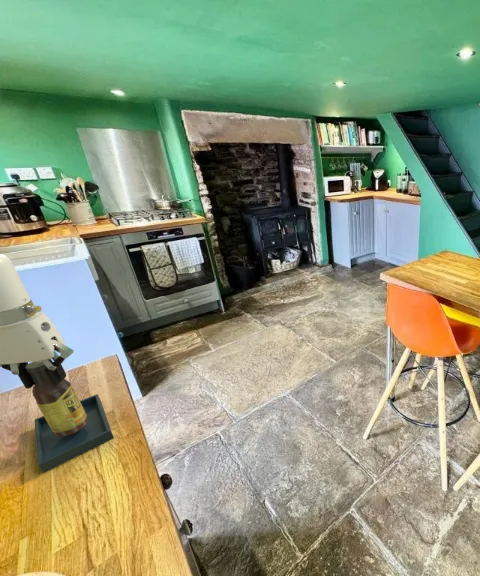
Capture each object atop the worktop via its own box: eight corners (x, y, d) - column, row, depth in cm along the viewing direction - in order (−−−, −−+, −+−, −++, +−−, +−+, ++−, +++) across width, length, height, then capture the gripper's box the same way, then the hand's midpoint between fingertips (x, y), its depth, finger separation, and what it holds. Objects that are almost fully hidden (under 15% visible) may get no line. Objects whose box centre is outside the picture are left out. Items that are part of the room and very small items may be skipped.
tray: (38, 426, 77) (34, 419, 76) (100, 400, 86) (97, 393, 85) (43, 472, 67) (38, 465, 66) (113, 437, 75) (110, 430, 74)
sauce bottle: (87, 430, 75) (53, 366, 67) (51, 442, 71) (12, 377, 63) (91, 413, 80) (60, 351, 71) (58, 423, 76) (22, 360, 68)
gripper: (70, 301, 67) (100, 366, 75) (-28, 309, 63) (14, 377, 71) (46, 317, 61) (81, 387, 68) (-66, 327, 57) (-15, 401, 64)
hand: (46, 381), depth 69 cm, fingers closed on sauce bottle, 4 cm apart
